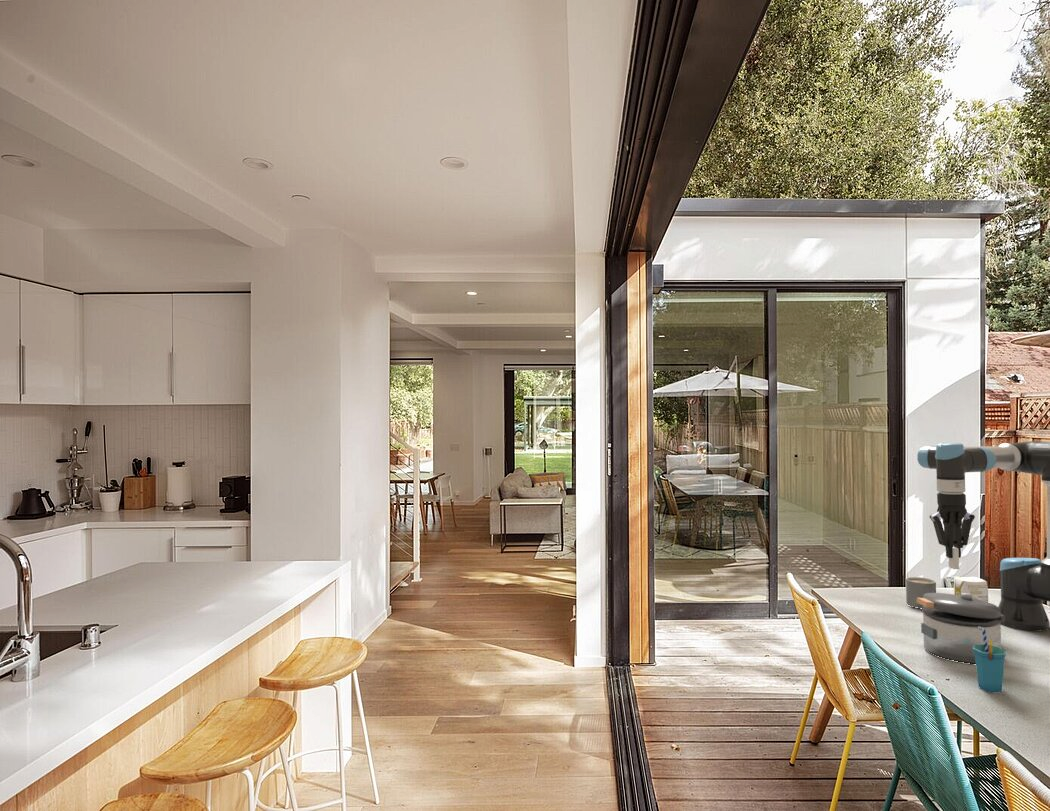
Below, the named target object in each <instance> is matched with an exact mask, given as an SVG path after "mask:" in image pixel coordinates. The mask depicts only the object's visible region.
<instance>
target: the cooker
mask: <svg viewBox="0 0 1050 811" xmlns="http://www.w3.org/2000/svg"><path fill="white" fill-rule="evenodd" d="M921 612H922V623H920V624H921V626H920V627H921V628H920V629H921V634H923V647H924V649H925V650H926V649H927V650H928V651H929V652H930V654H931V653H932V654H931V655H933V654H934V655H933V656H935V655H936V656H935V657H937V656H939V657H942V658H945V659H949V660H954V661H958V662H964V663H970V664H969V665H972V664H976V662H975V654H974V652H973V647H974V645H984V641H983V633H982V630H980V629H978V627H979V626H980V627H982V628H985V631H986V638H987V645H990V640H991V641H992V646H995V647H999V648H1001V649H1002V636H1001V634H1002V630H1001V628H1002V627H1001V625H1002V624H1000V623H1001V622H1005V615H1002V614H1000V617H999V618H995V619H984V618H974V617H967V616H962V615H957V614H952V613H948V612H944V611H941V610H937V609H935V608H932V607H925V606H923V607H922V609H921ZM927 650H926V651H927ZM928 651H927V652H928ZM929 652H928V653H929ZM939 657H938V658H939ZM942 658H941V659H942ZM945 659H944V660H945ZM949 660H948V661H949ZM958 662H957V663H958Z"/></svg>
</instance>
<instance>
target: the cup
mask: <svg viewBox="0 0 1050 811" xmlns="http://www.w3.org/2000/svg"><path fill="white" fill-rule="evenodd" d="M978 629H980V630H982V633H983V641H984V645H974V647H973V652H974V654H975V662H976V665H975V667H976V675H977V677H976V678H977V684H978V688H979V687H980V688H979V689H981V690H983V691H984V690H985V691H984V692H989V691H990V693H993V692H999V693H1002V691H1003V682H1004V670H1005V669H1004V668H1005V658H1006V656H1007V650H1005V649H1003V648H1002V647H1001V648H999V647H995V646H992V641H991V640H990V645H987V638H986V631H985V628H982V627H980V626H979V627H978Z"/></svg>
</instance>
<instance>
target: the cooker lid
mask: <svg viewBox="0 0 1050 811" xmlns="http://www.w3.org/2000/svg"><path fill="white" fill-rule="evenodd" d="M917 603H919V604H921V605H923V606H925V607H932V608H935V609H937V610H941V611H944V612H948V613H952V614H957V615H962V616H967V617H974V618H984V619H995V618H999V617H1000V613H1001V609H1000V608H999V607H998V606H999V605H996V604H994V603H991V602H989V601H988V602H985V601H982V600H978V599H974V598H972V594H969V593H961V596H959V595H954V593H953V594H951V593H941V592H940V593H939V592H936V593H926V594H924V595H923V598H917Z"/></svg>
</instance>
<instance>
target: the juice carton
mask: <svg viewBox="0 0 1050 811" xmlns="http://www.w3.org/2000/svg"><path fill="white" fill-rule="evenodd" d="M961 593H969V594H972V598H974V599H978V600H982V601H985V602H988V603H989V589H988V582H987V581H986V580H985V579H982V578H979V577H976V576H967V577H963V576H962V577H961V576H954V579H953V595H959V596H961Z"/></svg>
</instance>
